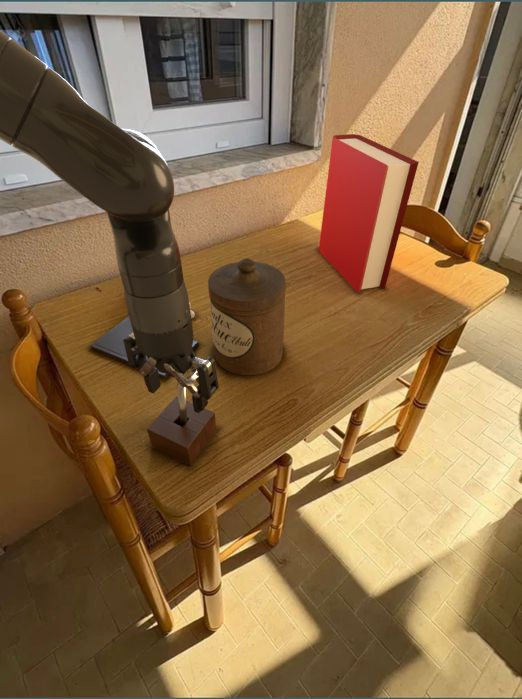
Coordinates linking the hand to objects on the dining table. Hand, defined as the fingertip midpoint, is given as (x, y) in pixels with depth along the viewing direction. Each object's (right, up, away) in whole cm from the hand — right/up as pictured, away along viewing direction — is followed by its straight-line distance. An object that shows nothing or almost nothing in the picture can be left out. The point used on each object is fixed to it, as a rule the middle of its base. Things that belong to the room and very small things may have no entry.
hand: (177, 398), depth 59 cm
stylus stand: (0, -8, +7) cm, 10 cm away
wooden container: (+10, +7, +24) cm, 27 cm away
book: (+39, +32, +53) cm, 73 cm away
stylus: (0, -8, +7) cm, 10 cm away
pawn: (-4, +16, +34) cm, 38 cm away
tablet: (-13, +8, +25) cm, 29 cm away
